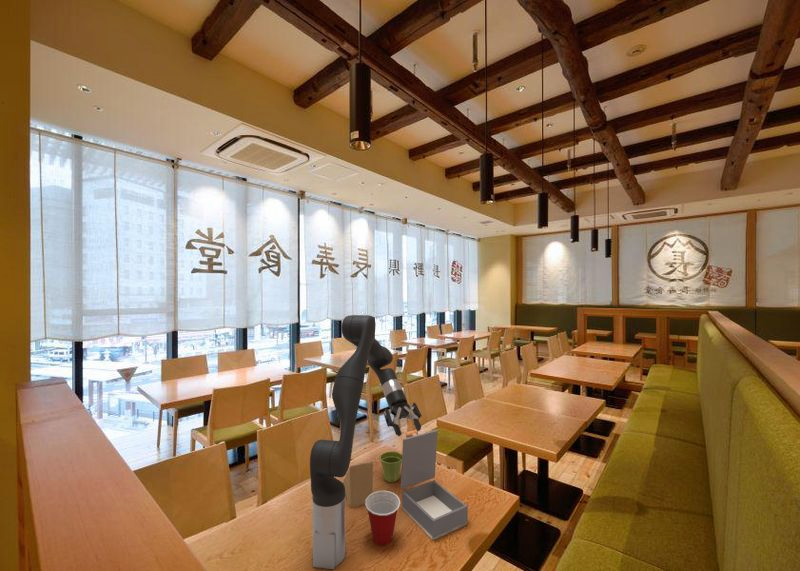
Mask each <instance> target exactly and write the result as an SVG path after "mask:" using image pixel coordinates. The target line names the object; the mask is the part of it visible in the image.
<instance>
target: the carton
mask: <svg viewBox="0 0 800 571" xmlns="http://www.w3.org/2000/svg"><path fill="white" fill-rule="evenodd" d="M401 509H402V510H403V512H404V513H405V514H406V515H407V516H409V518H410V519H412V521H413V522H414V523H415V524H416V525H417V526H418V527H419V528H420V529H421V530H422V531H423V532H424V533H425V534H426V535H427V536H428V537H429V538H430V539H431V540H432V541H433V542H434V541H436V540H438V539H440V538H442V537H444V536H446V535H448V534H451V533H453V532H455V531H457V530H459V529H461V528H463V527H465V526H467V525H469V524H468V522H469V521H468V520H469V517H468V514H469V513H468V511H469V510H468V509H469V506H468V505H467V504H466V503H464V502H463V501H462V500H460V499H459V498H458V497H456V496H455V494H453V493H451V492H450V491H449V490H448V489H447V488H445V487H443V485H441V484H440V483H439V482H438V481H436V480H435V479H433V480H431V481H428V482H424V483H422V484H420V485H417V486H414V487H412V488H409V489H405V490H404V491H402V492H401Z"/></svg>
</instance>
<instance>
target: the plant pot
mask: <svg viewBox="0 0 800 571" xmlns="http://www.w3.org/2000/svg"><path fill="white" fill-rule="evenodd" d="M379 460H380V463H381V468H382V473H383V474H382V475H383V480H385V481H386V482H387V483H394V482H396V481H399V479H400V476H401V468H402V453H401V452H398V451H385V452H383V453H381V454H380V456H379Z"/></svg>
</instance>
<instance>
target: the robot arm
mask: <svg viewBox="0 0 800 571" xmlns="http://www.w3.org/2000/svg"><path fill="white" fill-rule="evenodd" d="M376 326H377V325H376V319H375V317H374V316H372V315H370V314H368V315H367V314H366V315H365V314H361V315H360V314H352V315H351V314H350V315H347V316H345V317H344V318H343V319H342V323H341V333H342V336H343V338H344V339H345V340H346V341H347V342H348V343H351V344H352V345H353V346H355V347H356V349H355V351H354V352H353V354H352V355H351V356H350V357H349V358H348V359H347V361H345V362H344V364H342V366H341V367H340V368H339V370H337V372H336V375H335V377H334V383H333V385H332V386H333V387H332V391H331V397H332V398H331V399H332V401H333V405H334V408H335V410H336V414H337V416H338V418H339V425H340V434H339V440H333V439H332V440H331V439H318V440H316V441H315V442H314V443H313V445H312V447H311V451H310V456H309V472H310V473H309V474H310V491H311V495H312V562H313V563H312V567H313V568H318V569H326V570H335V569H336V567H337V566H339V565H340V564H341V563H342V562H343V561H344V559H345V557H346V495H345V486H344V484H343V482H342V481H341V480H339V479H338V478H344V477H346V475H347V473H348V471H349V468H350V466H351V460H352V454H353V444H354V436H355V430H356V429H355V428H356V422H357V417H358V412H359V407H360V401H361V398H362V393H363V389H364V388H363V387H364V384H365V378H366V377H365V376H366V371H367V364H368V365H369V367H370V368H371V369H372V370H373V372H374V373H375V375H376V377H377V378H378V381H379V384H380V386H381V388H382V392H383V395H384V398H385V401H386V403H387V405H388V406H387V407H388V408H389V409H388V408H385V410H384V411H383V416H384V419H385V424H386V426H387V427H392V428H393V430H394V433H395V435H396V436H397V437H401V436H402V435H403V434H402V431H401V428H400V426H399V424H398V421H399V420H401V419H408V420H411V421H412V422H413V425H414V427H415V430H417V431H418V432H420V431H421V429H422V425H421V423H420V421H419V419H420V418H421V417H422V413H421V411H420V409H419V407H418V406H417V404H416V402H412V403H411V404H409V403H408V399H407V397H406V394H405V392H404V389H403V386H402V385H401V383H400V381H399V380H398V378H397V375H396V372H395V370H394V369H393V368H391V367H387V366H388V365H391V363H392V361H393V354H392V352H391V351H390V350H389V348H388V347H385V346H382V345H381V343H380V342H379V341H378V339H376V338H375V335H376V334H375V332H376ZM384 367H387V368H384ZM382 368H383V369H382ZM391 415H393V419H392V417H391Z"/></svg>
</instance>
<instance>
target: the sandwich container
mask: <svg viewBox="0 0 800 571" xmlns="http://www.w3.org/2000/svg"><path fill="white" fill-rule="evenodd" d="M373 478H374V462H373V461H367V462H362V463H361V462H360V463H358V464H357V463H356V464H352V465H349V468H348V471H347V473H346V475H345V478H344V480H343V482H342V483H343V484H344V486H345V500H346V501H347V504H348V506H349V509H351V508H356V507H360V506H364V505H365V500H366V499H367V497H368V496H369V495H370V494H372V493H373V492H374V489H373V485H374V484H373V483H374V482H373V481H374V480H373Z"/></svg>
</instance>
